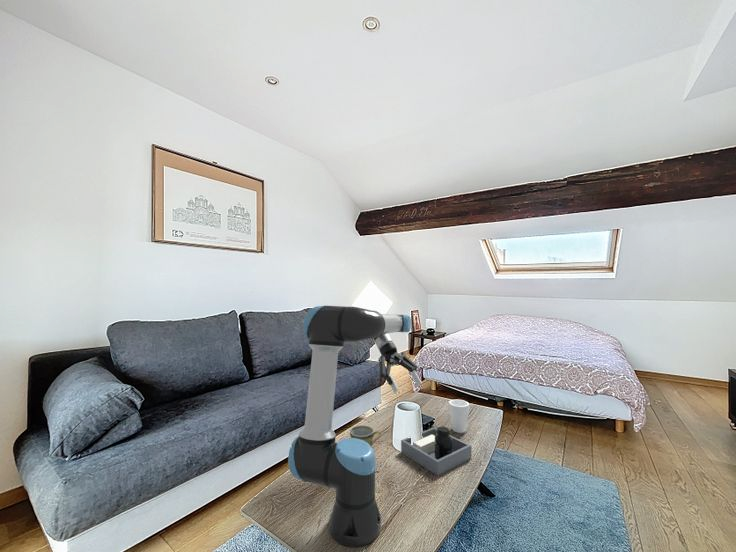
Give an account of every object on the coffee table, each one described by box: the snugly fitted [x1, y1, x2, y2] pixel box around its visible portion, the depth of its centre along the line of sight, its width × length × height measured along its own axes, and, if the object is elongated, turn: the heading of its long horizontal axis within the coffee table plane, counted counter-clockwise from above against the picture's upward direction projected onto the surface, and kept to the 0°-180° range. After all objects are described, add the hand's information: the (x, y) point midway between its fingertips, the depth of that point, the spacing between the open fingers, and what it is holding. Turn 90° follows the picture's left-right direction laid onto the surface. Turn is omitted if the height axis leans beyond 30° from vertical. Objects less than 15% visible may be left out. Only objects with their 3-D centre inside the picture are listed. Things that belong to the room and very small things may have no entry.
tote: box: [400, 427, 472, 477], centre depth 129 cm, size 20×20×6 cm
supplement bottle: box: [435, 426, 452, 460], centre depth 126 cm, size 7×7×12 cm
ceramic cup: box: [349, 424, 382, 447], centre depth 132 cm, size 13×10×10 cm
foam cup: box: [448, 399, 470, 434], centre depth 154 cm, size 10×9×13 cm
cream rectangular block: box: [413, 435, 435, 454], centre depth 133 cm, size 12×5×4 cm, turn 126°
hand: (408, 387), depth 133 cm, fingers open, 13 cm apart
